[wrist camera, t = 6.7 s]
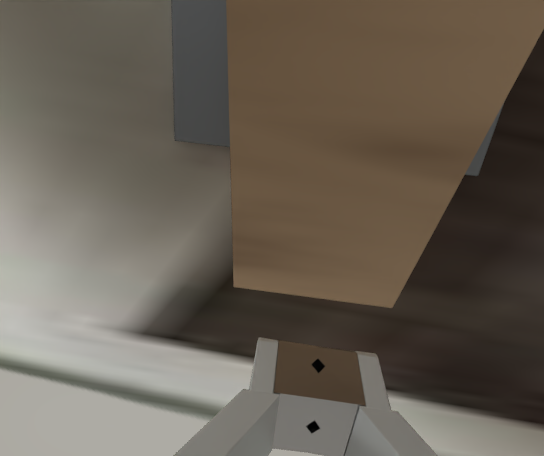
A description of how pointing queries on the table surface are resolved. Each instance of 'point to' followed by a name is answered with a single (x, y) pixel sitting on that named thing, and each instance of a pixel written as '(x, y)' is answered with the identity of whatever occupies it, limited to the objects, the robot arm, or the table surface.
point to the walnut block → (358, 132)
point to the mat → (218, 76)
